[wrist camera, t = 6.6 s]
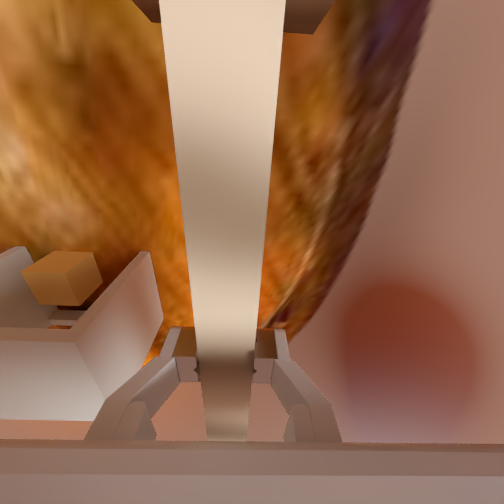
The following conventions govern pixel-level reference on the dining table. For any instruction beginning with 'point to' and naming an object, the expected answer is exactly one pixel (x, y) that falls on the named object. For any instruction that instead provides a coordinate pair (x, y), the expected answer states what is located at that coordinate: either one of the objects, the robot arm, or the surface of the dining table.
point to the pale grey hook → (226, 173)
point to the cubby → (72, 342)
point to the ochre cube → (63, 278)
